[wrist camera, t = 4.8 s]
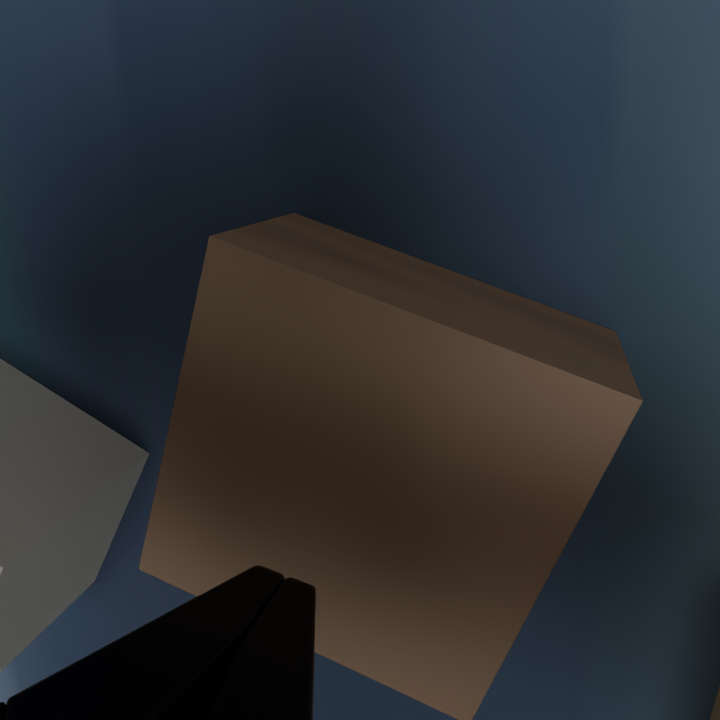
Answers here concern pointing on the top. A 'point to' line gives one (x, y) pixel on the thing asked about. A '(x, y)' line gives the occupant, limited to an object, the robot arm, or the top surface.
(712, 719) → the beech block marked
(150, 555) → the walnut block
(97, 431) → the grey block marked
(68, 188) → the top surface
